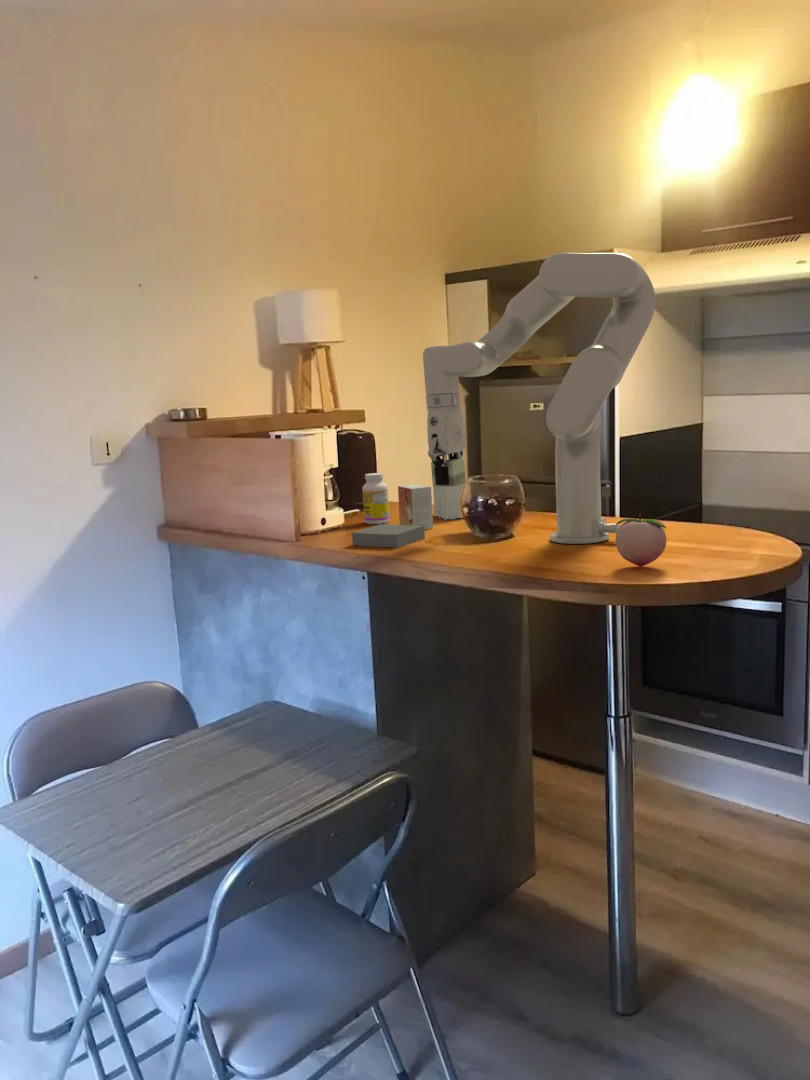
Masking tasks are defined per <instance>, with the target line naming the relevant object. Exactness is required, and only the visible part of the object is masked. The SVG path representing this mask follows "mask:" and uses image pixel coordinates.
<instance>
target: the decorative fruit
mask: <svg viewBox="0 0 810 1080" xmlns="http://www.w3.org/2000/svg"><path fill="white" fill-rule="evenodd" d="M638 515H639V517H638V518H635V517H630V518H622V519H620V520H619V521H617V522H616V523H615V524H616V525H618V524H619V525H620V524H621V525H620V527H619V528H618V530H617V533H615V534H616V535H615V546H616V550H617V552H618V553H619V555H620V556H621V558H622V559H624V560H625V561H627V562H629V563H631V564H633V565H634V566H637V567H639V568H642V567H644V566H647V565H650V564H651V563H652V562H654V561H656V560H657V559H659V557H660V556H661V555H662V554H663V552H664V551H665V549H666V546H667V535H666V531H665V529H667V527H666V525H665V524H664V523H662V521H660V520H658V519H654V518H645V519H642V513H639V514H638Z"/></svg>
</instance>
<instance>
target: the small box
mask: <svg viewBox="0 0 810 1080" xmlns="http://www.w3.org/2000/svg"><path fill="white" fill-rule="evenodd" d="M397 495H398V513H399V514H398V515H399V525H415V526H424V529H425V530H429V529H428V528H432V529H433V528H434V520H433V518H434V517H433V501H432V500H433V498H432V486H428V485H422V484H418V483H417V484H414V483H413V484H408V485H398V486H397Z"/></svg>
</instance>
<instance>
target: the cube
mask: <svg viewBox="0 0 810 1080" xmlns="http://www.w3.org/2000/svg"><path fill="white" fill-rule="evenodd" d="M430 466H431V469H430V470H431V480H432V488H433V487H442V486H457V485H461V484H464V483H466V479H467V478H466V467H465V458H462V459H449V458H447V461H446V467H448V474H449V484H448V485H436V482H435V469H434V467H433V462H432V461H431V462H430Z"/></svg>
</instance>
